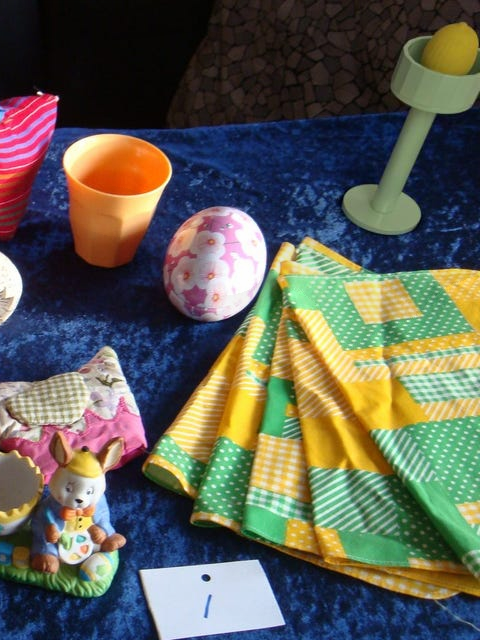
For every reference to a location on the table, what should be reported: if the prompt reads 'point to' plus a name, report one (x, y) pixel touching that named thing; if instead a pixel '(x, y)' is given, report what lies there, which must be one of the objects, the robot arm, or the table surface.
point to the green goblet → (410, 139)
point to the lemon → (451, 50)
